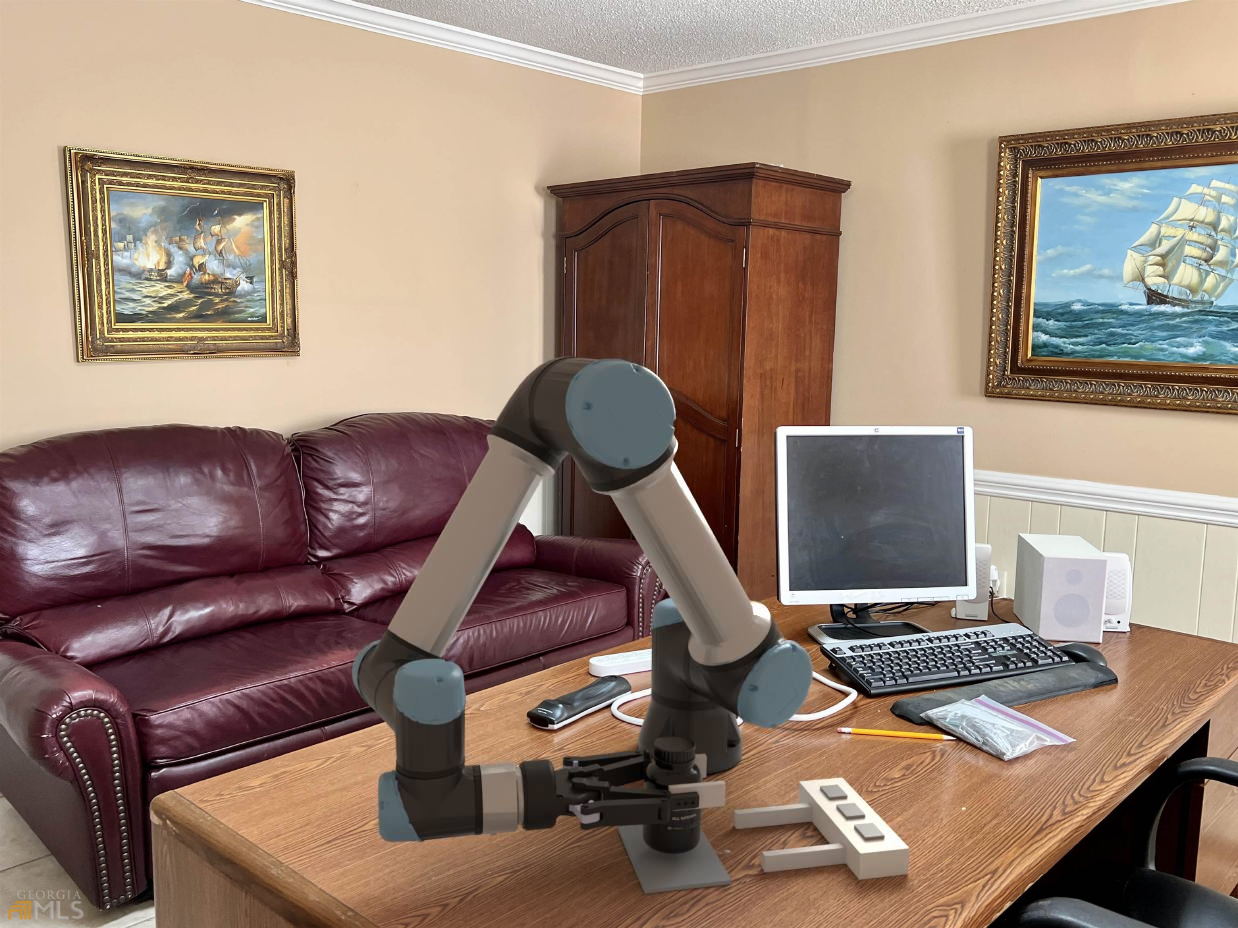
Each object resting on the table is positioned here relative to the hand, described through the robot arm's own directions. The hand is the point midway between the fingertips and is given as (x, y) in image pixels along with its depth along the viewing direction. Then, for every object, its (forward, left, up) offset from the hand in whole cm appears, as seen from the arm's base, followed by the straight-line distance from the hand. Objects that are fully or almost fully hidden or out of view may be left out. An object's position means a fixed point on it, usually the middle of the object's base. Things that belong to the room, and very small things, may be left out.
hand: (714, 778), depth 118 cm
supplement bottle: (0, -5, -7) cm, 9 cm away
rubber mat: (0, -5, -9) cm, 10 cm away
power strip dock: (0, +12, -9) cm, 16 cm away
